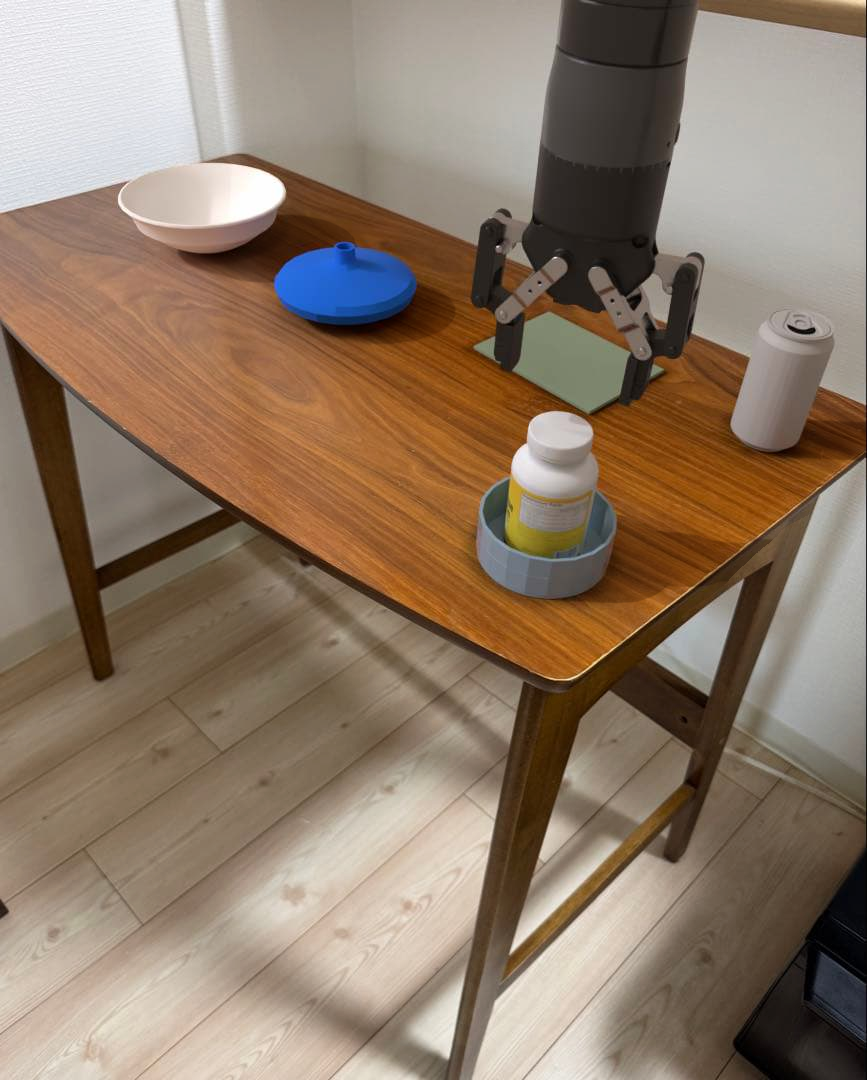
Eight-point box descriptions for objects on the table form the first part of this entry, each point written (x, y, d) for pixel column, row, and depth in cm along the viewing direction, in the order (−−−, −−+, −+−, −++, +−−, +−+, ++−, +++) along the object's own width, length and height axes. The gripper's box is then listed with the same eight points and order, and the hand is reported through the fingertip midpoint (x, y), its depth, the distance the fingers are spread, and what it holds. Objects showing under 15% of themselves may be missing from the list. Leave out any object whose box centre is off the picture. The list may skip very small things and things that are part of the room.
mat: (663, 372, 94) (664, 369, 93) (589, 414, 87) (589, 411, 87) (548, 314, 102) (549, 311, 102) (473, 349, 96) (473, 345, 95)
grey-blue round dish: (536, 492, 78) (542, 455, 75) (634, 555, 73) (644, 518, 70) (449, 547, 73) (451, 509, 70) (548, 620, 67) (554, 582, 64)
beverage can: (730, 451, 84) (767, 335, 76) (725, 413, 88) (759, 300, 80) (801, 460, 83) (845, 344, 75) (792, 421, 88) (833, 308, 80)
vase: (248, 300, 102) (241, 240, 97) (359, 262, 110) (358, 205, 105) (331, 357, 93) (328, 294, 89) (445, 312, 101) (447, 252, 97)
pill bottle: (538, 510, 76) (555, 393, 68) (599, 549, 72) (625, 430, 65) (485, 546, 72) (497, 426, 64) (547, 588, 69) (567, 468, 61)
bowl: (98, 266, 107) (86, 214, 103) (170, 203, 121) (162, 154, 117) (256, 288, 104) (250, 235, 100) (311, 221, 119) (308, 172, 114)
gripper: (465, 133, 51) (450, 381, 61) (718, 184, 46) (654, 441, 57) (515, 98, 56) (493, 333, 67) (746, 141, 51) (682, 384, 62)
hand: (567, 382), depth 62 cm, fingers open, 8 cm apart
